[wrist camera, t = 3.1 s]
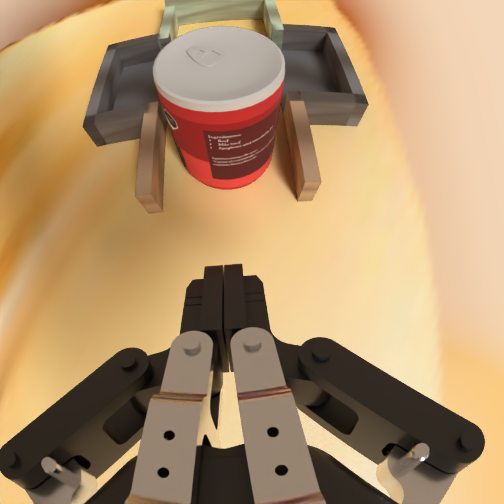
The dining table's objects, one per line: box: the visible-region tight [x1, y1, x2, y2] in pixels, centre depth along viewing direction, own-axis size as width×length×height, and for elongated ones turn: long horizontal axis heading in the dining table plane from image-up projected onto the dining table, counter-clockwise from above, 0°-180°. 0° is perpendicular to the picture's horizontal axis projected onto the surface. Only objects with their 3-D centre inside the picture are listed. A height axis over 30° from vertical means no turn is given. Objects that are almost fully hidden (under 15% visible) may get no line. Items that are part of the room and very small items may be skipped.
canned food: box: [153, 26, 285, 189], centre depth 20 cm, size 8×8×11 cm
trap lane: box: [83, 0, 368, 213], centre depth 25 cm, size 28×25×4 cm
